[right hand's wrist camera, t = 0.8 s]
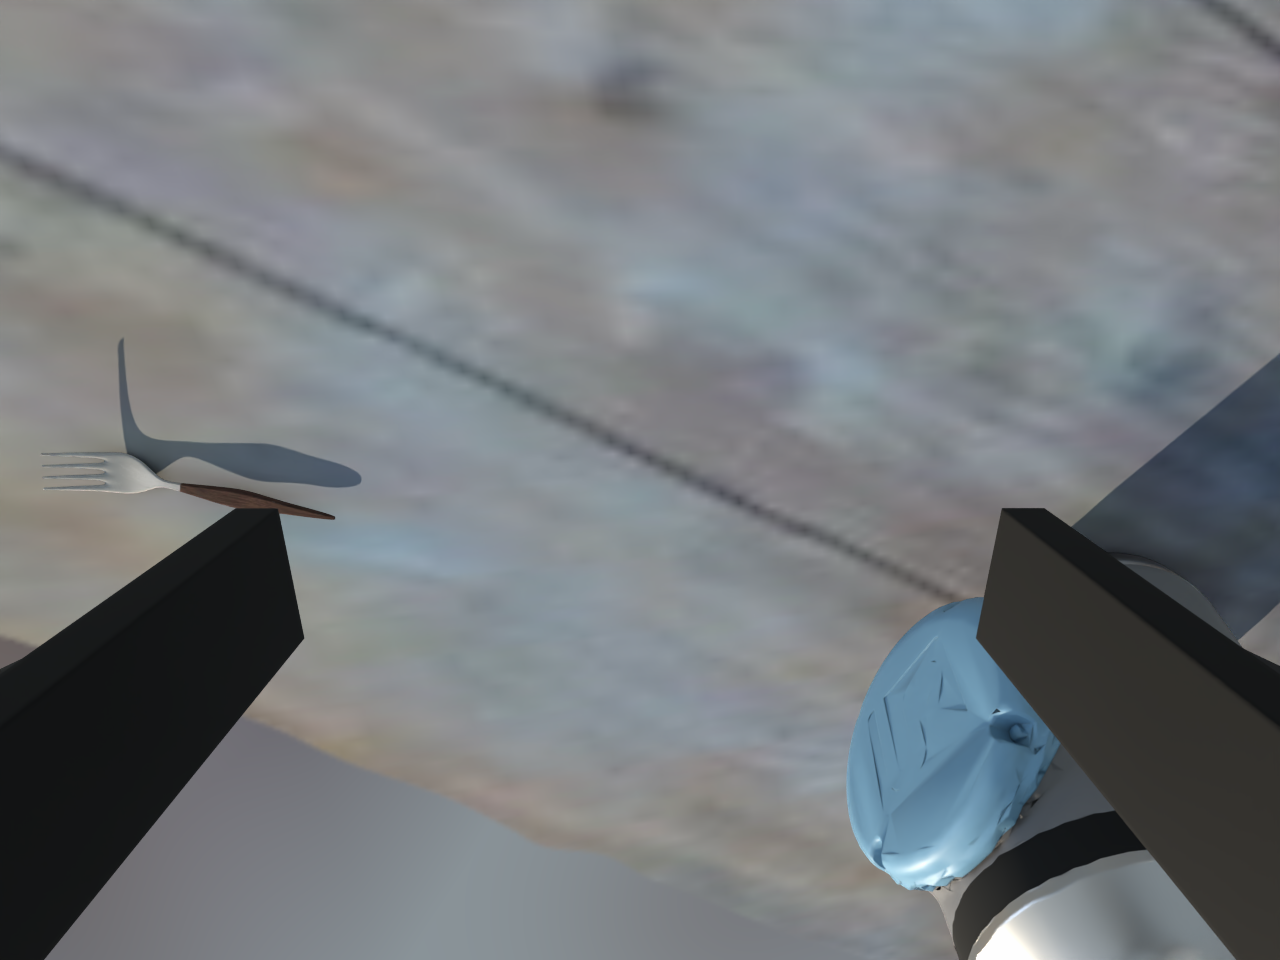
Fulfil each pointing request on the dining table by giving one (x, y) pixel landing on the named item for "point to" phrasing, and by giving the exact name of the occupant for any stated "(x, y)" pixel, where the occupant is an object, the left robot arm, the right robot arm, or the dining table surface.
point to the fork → (165, 484)
